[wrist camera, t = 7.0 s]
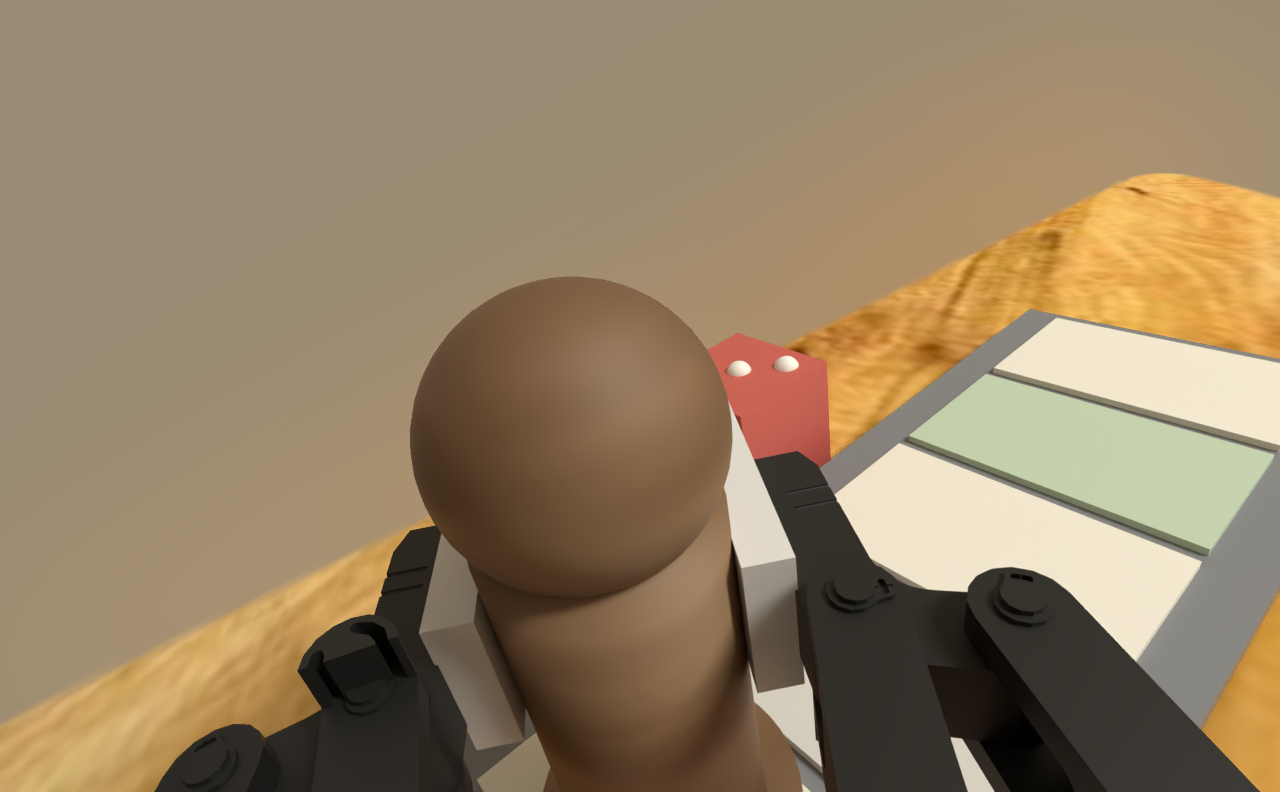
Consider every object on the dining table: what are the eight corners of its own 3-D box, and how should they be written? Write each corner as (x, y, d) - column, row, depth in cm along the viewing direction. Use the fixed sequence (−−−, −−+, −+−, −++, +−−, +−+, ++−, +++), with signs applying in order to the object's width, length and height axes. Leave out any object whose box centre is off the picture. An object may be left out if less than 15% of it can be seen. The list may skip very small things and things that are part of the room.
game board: (437, 787, 18) (422, 759, 17) (1027, 328, 32) (1030, 304, 32) (803, 1440, 9) (797, 1430, 8) (1382, 406, 24) (1396, 375, 23)
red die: (672, 472, 28) (653, 370, 25) (747, 423, 30) (736, 325, 27) (752, 519, 24) (739, 407, 22) (830, 460, 26) (826, 353, 24)
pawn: (509, 818, 15) (263, 324, 9) (686, 669, 17) (588, 203, 11) (664, 1063, 11) (418, 487, 5) (861, 826, 13) (857, 251, 7)
